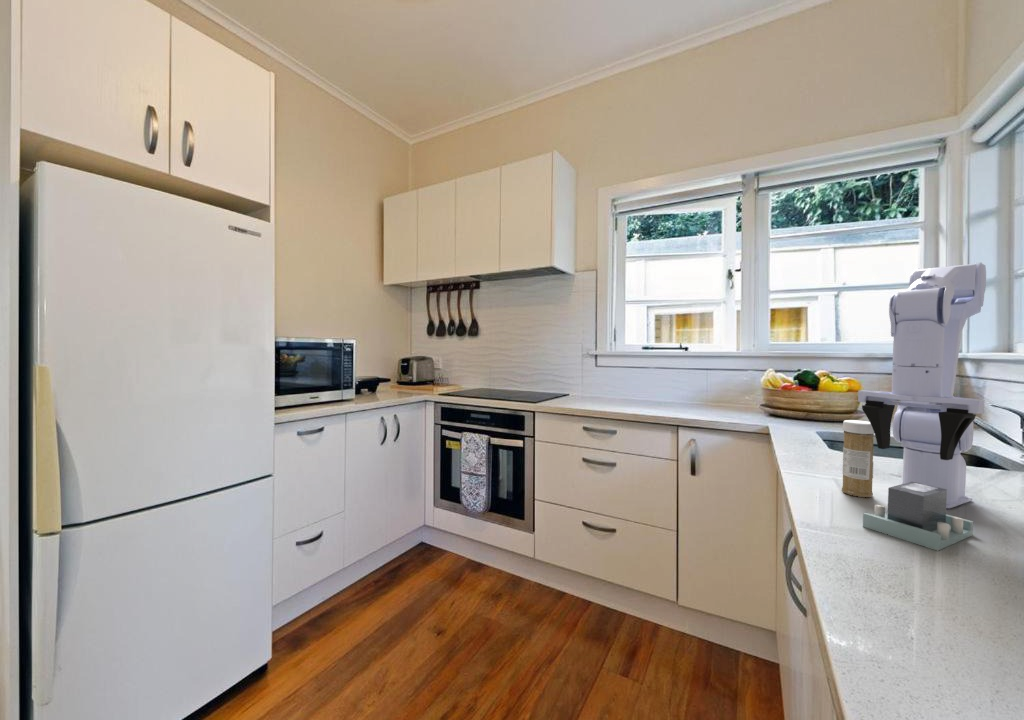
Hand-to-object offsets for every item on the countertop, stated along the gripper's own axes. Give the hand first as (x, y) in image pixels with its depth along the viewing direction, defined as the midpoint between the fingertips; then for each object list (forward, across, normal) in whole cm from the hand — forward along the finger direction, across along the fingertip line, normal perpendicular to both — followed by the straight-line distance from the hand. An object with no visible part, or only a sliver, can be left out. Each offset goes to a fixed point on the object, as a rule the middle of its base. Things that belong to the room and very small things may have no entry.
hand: (913, 453), depth 67 cm
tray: (+10, +2, -5) cm, 12 cm away
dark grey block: (+10, +2, -5) cm, 11 cm away
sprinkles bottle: (+10, -10, +6) cm, 16 cm away
